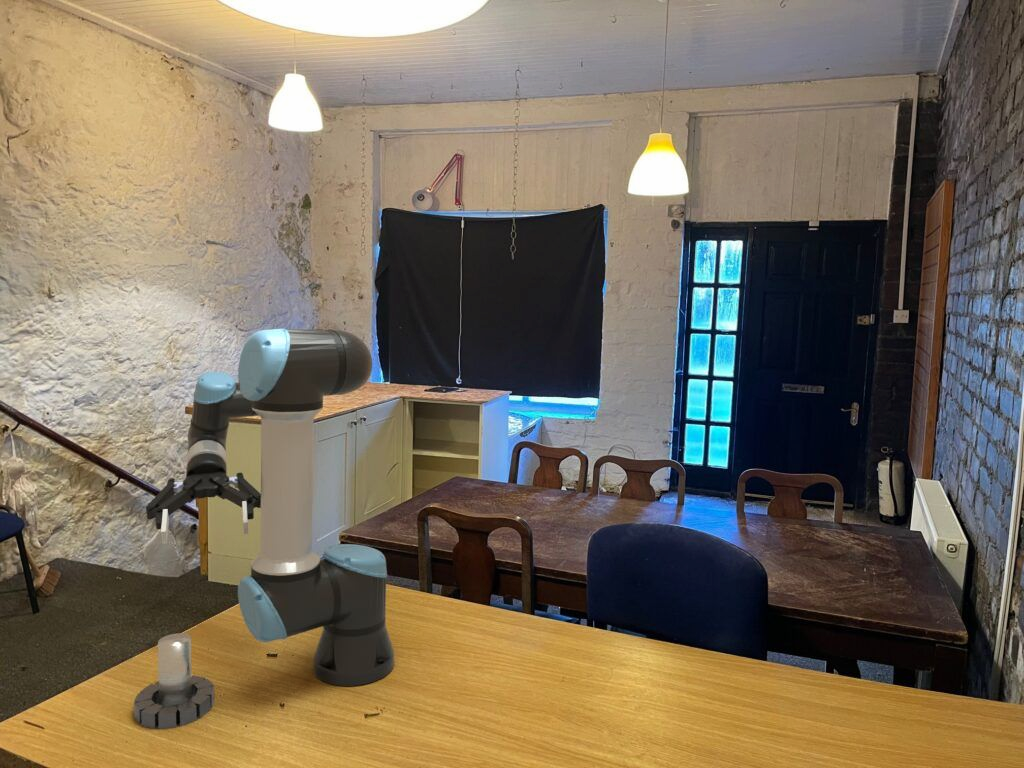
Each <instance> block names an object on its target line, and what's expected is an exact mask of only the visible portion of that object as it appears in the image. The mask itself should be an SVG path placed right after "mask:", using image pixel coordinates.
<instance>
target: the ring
mask: <svg viewBox="0 0 1024 768" xmlns="http://www.w3.org/2000/svg"><path fill="white" fill-rule="evenodd" d="M191 683H192V698H191V699H190V700H188V701H185V702H183V703H180V704H177V705H167V706H163V705H159V680H158V681H154V683H151V684H149V685H147V686H146V687H144V688H143V689H141V690H140V691H139V693H138V692H137V694H136V697H135V699H134V701H133V717H134V720H135V721H136V723H138V725H139V726H140V725H141V727H145V728H149V729H153V730H155V729H157V728H158V730H164V729H165V730H166V729H173V728H177V726H178V725H179V727H182V726H185V725H187V724H188V725H189V723H194V722H196V721H197V720H198V719H201V718H202V717H204V716H205V715H207V713H209V712H210V711H211V709H212V708H213V706H214V703H215V685H214V683H213V682H212V681H211V680H210V679H208V678H206V676H205V677H204V676H200V675H191Z"/></svg>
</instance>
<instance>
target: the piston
mask: <svg viewBox="0 0 1024 768" xmlns="http://www.w3.org/2000/svg"><path fill="white" fill-rule="evenodd" d="M157 655H158V656H157V657H158V658H157V661H158V662H157V664H158V666H157V667H158V681H159V704H158V705H163V706H167V705H177V704H180V703H183V702H185V701H188V700H190V699H191V698H192V683H191V676H192V637H191V635H190V634H188V633H183V632H182V633H180V632H177V633H171V634H168V635H164V636H163V637H161V638H160V639H158V641H157Z"/></svg>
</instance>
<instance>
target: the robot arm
mask: <svg viewBox="0 0 1024 768" xmlns="http://www.w3.org/2000/svg"><path fill="white" fill-rule="evenodd" d="M373 364H374V363H373V357H372V354H371V351H370V349H369V347H368V346H367V344H366V343H365V342H364V341H363V340H362V339H361V338H360V337H358V336H356V335H355V334H354V333H351V332H349V331H346V330H340V329H334V328H333V329H306V328H305V329H303V328H301V329H297V328H296V329H295V328H283V327H282V328H276V329H275V328H274V329H272V328H271V329H263V330H258V331H255V332H254V333H252V335H249V337H248V339H247V340H246V342H245V343H244V345H243V348H242V350H241V354H240V358H239V362H238V368H237V369H238V370H237V371H238V373H237V378H238V381H237V382H236V380H235V379H234V377H232V376H231V375H230V374H227V373H225V372H217V371H208V372H205V373H202V374H201V375H200V376H199V377H198V378H197V381H196V384H195V388H194V393H193V404H192V413H191V419H190V424H189V428H188V430H187V433H188V434H187V454H186V468H185V469H186V471H185V473H186V474H185V479H184V480H183V481H176V480H175V478H173V477H172V478H168V480H167V483H166V485H165V486H164V487H163V488H162V490H160V491H159V493H158V494H157V495H155V497H154V498H153V499H152V500H151V501H150V502H149V503H148V504H147V505H146V506H145V510H146V511H145V512H146V513H145V514H146V518H147V520H153V519H155V529H156V530H160V535H161V543H162V544H163V545H164V544H165V545H166V544H168V534H169V526H170V525H169V522H170V519H169V517H170V515H172V514H173V513H175V512H176V511H177V510H179V509H180V508H182V507H183V506H184V505H186V504H187V503H190V504H191V503H192V502H193V501H194V500H196V499H205V498H215V497H218V498H220V499H222V500H228V501H230V502H231V503H233V504H235V505H236V506H238V507H240V508H242V522H243V535H248V534H249V522H248V520H254V518H255V514H254V513H255V512H254V509H255V508H257V509H260V550H259V551H260V552H259V553H258V554H257V555H256V556H255V557H254V558H253V559H252V560H251V562H250V564H251V565H250V575H246V576H244V577H243V578H241V579H240V581H239V583H238V587H237V599H238V605H239V609H240V612H241V615H242V618H243V620H244V624H245V625H246V628H247V629H248V631H249V633H250V634H251V635H252V636H253V638H255V639H256V640H257V641H259V642H261V643H270V642H272V641H273V642H274V641H277V640H285V639H287V638H290V637H292V636H296V635H299V634H302V633H306V632H310V631H313V630H316V629H319V628H322V627H323V628H322V629H323V630H322V632H321V635H320V638H319V641H318V643H317V647H316V649H315V652H314V656H313V673H314V675H315V676H316V678H318V680H320V681H322V682H324V683H327V684H330V685H334V686H341V687H343V686H344V687H352V686H362V685H366V684H371V683H374V682H377V681H378V680H381V679H383V678H385V677H386V676H388V675H389V673H390V672H391V671H392V670H393V669H394V665H395V650H394V648H393V645H392V641H391V639H390V635H389V631H388V629H387V625H386V617H387V616H386V615H387V613H386V611H387V608H386V607H387V605H386V604H387V603H386V602H387V577H388V570H387V561H386V560H387V559H386V556H385V555H384V554H383V552H382V551H380V550H378V549H376V548H373V547H371V546H367V545H361V544H352V543H344V544H343V543H341V544H335V545H330V546H328V547H326V548H325V549H324V550H323V554H322V558H323V559H321V557H320V555H318V553H316V552H315V551H314V550H313V549H312V548H313V547H312V544H313V543H312V542H313V485H314V484H313V483H314V481H313V480H314V478H313V477H314V474H313V473H314V472H313V470H314V469H313V468H314V424H315V423H314V421H315V420H314V419H315V417H316V416H317V415H318V414H319V413H320V412H321V411H322V410H323V409H324V406H323V405H324V397H325V396H334V395H335V396H336V395H337V396H340V395H346V394H348V393H353V392H355V391H357V390H359V389H361V388H362V387H363V386H364V385H365V384H366V383H367V382H368V381H369V379H370V377H371V375H372V371H373ZM257 416H258V417H260V425H261V426H260V431H261V433H260V492H259V491H258V490H257V489H256V488H255V487H254V486H253V485H252V484H251V483H250V482H249V481H247V479H245V478H244V473H243V472H237V473H236V476H230V477H229V476H228V474H227V470H228V469H227V451H226V450H227V437H228V431H229V426H230V420H231V419H234V418H237V419H238V418H249V417H257ZM231 485H232V486H231ZM233 486H234V487H233Z"/></svg>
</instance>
